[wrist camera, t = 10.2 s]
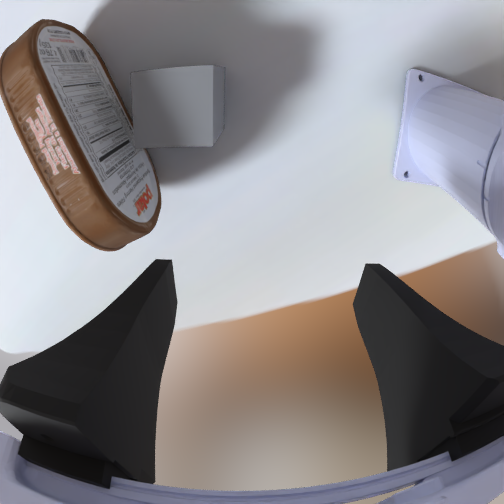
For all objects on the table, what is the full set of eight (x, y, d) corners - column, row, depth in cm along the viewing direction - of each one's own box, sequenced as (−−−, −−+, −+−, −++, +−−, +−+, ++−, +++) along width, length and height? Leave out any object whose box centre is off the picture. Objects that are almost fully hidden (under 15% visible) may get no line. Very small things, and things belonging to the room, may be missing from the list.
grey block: (225, 67, 16) (213, 64, 11) (224, 128, 18) (212, 146, 14) (161, 71, 16) (130, 72, 11) (163, 129, 18) (135, 148, 14)
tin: (59, 42, 14) (-26, 49, 7) (93, 16, 13) (10, 6, 6) (145, 211, 21) (97, 284, 14) (181, 195, 20) (142, 268, 13)
